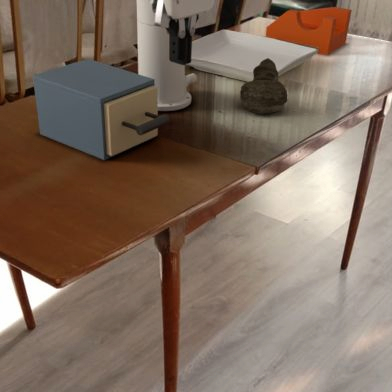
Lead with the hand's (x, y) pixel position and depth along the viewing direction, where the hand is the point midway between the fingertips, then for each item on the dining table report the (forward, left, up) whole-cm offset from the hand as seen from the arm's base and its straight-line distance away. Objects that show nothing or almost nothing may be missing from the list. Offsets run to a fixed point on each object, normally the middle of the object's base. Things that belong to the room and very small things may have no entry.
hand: (180, 61), depth 98 cm
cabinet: (0, -19, -17) cm, 26 cm away
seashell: (-32, -4, -17) cm, 36 cm away
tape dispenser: (-82, -22, -17) cm, 87 cm away
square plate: (-54, -23, -17) cm, 61 cm away
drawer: (0, -15, -16) cm, 22 cm away
